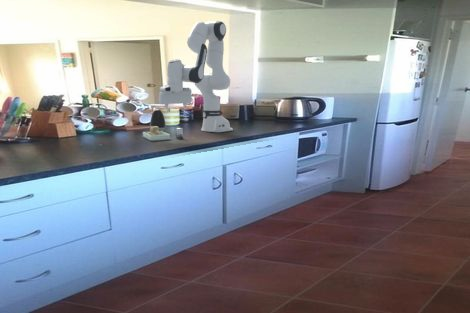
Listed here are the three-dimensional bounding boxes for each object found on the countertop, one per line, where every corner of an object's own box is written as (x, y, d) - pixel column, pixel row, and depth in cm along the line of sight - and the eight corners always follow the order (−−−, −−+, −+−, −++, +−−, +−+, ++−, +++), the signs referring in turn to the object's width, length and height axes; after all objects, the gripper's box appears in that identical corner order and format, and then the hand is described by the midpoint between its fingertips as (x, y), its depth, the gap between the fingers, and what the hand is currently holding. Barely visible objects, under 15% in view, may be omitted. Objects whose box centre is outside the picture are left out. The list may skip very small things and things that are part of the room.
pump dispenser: (167, 131, 246) (167, 108, 243) (163, 133, 236) (162, 110, 233) (153, 130, 247) (152, 108, 244) (148, 132, 237) (147, 109, 233)
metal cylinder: (181, 137, 225) (181, 127, 224) (184, 138, 222) (183, 128, 220) (175, 137, 223) (175, 128, 222) (177, 138, 220) (177, 129, 218)
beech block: (156, 135, 225) (156, 126, 224) (158, 136, 222) (158, 127, 220) (150, 136, 223) (149, 126, 222) (152, 137, 220) (152, 127, 218)
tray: (161, 135, 228) (161, 130, 228) (170, 139, 217) (170, 134, 216) (142, 137, 222) (142, 132, 221) (150, 141, 211) (150, 135, 210)
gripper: (189, 87, 224) (189, 109, 227) (157, 87, 213) (158, 111, 217) (193, 87, 218) (193, 110, 222) (160, 88, 208) (161, 112, 211)
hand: (175, 111), depth 219 cm, fingers open, 8 cm apart
